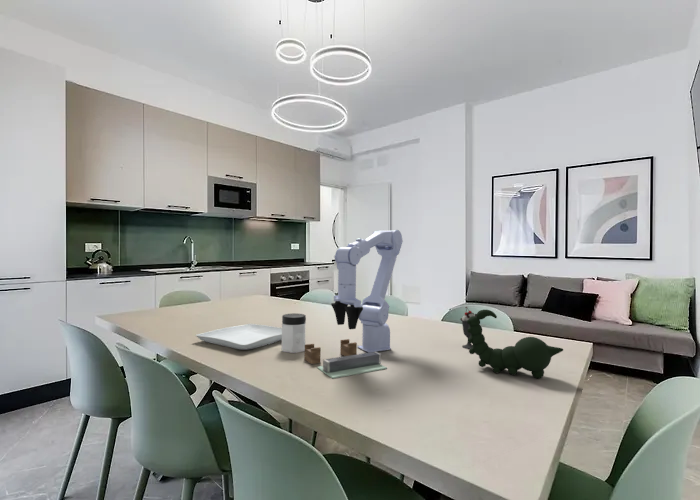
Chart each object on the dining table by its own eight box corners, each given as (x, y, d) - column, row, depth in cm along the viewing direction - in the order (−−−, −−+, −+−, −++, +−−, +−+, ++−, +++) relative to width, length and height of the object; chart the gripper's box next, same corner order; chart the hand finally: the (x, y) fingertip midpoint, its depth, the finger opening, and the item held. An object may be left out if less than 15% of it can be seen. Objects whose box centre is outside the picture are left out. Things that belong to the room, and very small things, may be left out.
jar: (286, 354, 122) (286, 318, 122) (277, 348, 129) (277, 314, 129) (310, 350, 127) (310, 316, 127) (300, 345, 134) (300, 312, 134)
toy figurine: (467, 375, 108) (565, 386, 95) (462, 311, 109) (558, 312, 96) (475, 367, 116) (566, 375, 103) (470, 307, 117) (560, 307, 104)
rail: (375, 361, 114) (375, 351, 114) (380, 364, 112) (380, 354, 112) (322, 370, 105) (323, 359, 105) (327, 373, 103) (327, 362, 103)
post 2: (348, 352, 125) (348, 339, 125) (356, 357, 120) (356, 342, 120) (340, 354, 123) (340, 340, 123) (348, 358, 118) (348, 343, 118)
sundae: (458, 348, 132) (459, 306, 132) (460, 344, 138) (461, 304, 138) (478, 350, 130) (478, 308, 130) (479, 346, 136) (479, 305, 136)
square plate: (298, 339, 144) (298, 329, 144) (244, 355, 121) (244, 344, 121) (250, 330, 159) (250, 321, 159) (193, 343, 136) (193, 333, 136)
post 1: (313, 358, 118) (313, 343, 118) (320, 362, 114) (320, 347, 114) (304, 359, 117) (304, 344, 117) (311, 364, 112) (311, 348, 112)
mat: (368, 359, 117) (368, 358, 117) (386, 368, 109) (386, 367, 109) (317, 368, 108) (317, 366, 108) (332, 378, 100) (332, 377, 100)
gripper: (325, 282, 122) (325, 323, 122) (347, 286, 110) (346, 332, 109) (344, 282, 126) (343, 321, 126) (367, 286, 113) (366, 330, 113)
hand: (346, 326), depth 118 cm, fingers open, 7 cm apart
